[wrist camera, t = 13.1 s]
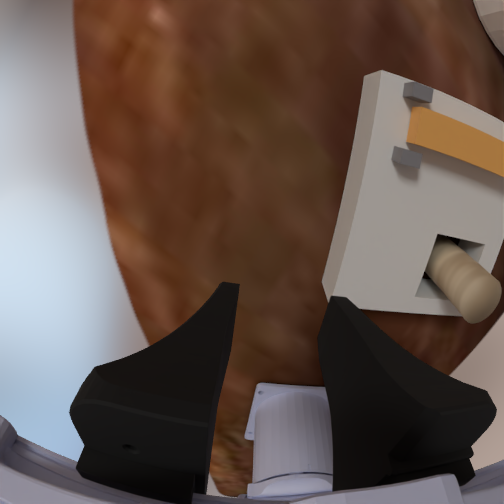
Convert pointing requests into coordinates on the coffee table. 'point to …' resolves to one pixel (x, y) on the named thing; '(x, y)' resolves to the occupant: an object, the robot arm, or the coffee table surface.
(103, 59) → the coffee table surface
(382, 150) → the white flat block
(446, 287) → the peg
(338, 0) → the coffee table surface
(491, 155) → the latch
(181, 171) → the coffee table surface
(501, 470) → the robot arm
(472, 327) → the coffee table surface
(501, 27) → the mug
